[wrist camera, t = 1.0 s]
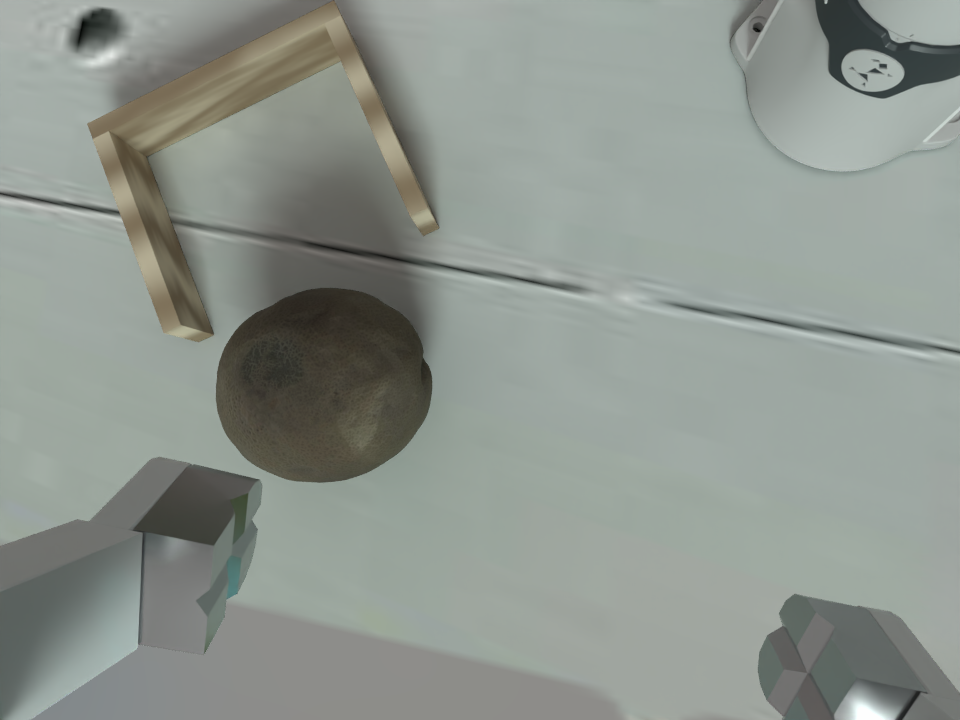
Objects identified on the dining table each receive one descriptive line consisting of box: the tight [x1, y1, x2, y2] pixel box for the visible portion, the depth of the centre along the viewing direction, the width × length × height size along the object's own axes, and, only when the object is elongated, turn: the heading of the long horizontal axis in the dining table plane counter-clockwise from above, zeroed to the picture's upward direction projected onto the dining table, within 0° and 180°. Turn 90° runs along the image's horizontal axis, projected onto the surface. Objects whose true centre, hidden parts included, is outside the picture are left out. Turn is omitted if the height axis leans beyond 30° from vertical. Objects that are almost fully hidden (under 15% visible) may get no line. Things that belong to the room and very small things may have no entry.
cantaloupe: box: [216, 288, 432, 483], centre depth 46 cm, size 14×14×15 cm
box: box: [88, 1, 439, 342], centre depth 54 cm, size 20×23×5 cm
